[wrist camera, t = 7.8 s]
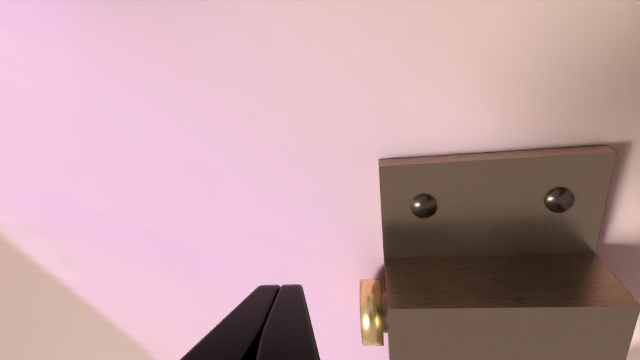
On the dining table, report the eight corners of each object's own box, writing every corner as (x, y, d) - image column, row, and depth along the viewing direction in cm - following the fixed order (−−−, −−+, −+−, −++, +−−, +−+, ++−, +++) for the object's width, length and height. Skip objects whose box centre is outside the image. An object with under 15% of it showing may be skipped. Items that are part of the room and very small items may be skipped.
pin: (603, 260, 20) (643, 307, 17) (591, 310, 21) (627, 361, 18) (360, 266, 21) (359, 310, 18) (364, 312, 23) (363, 360, 20)
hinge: (606, 145, 18) (674, 189, 14) (560, 378, 24) (598, 455, 20) (378, 159, 19) (381, 203, 15) (390, 376, 25) (394, 447, 22)
